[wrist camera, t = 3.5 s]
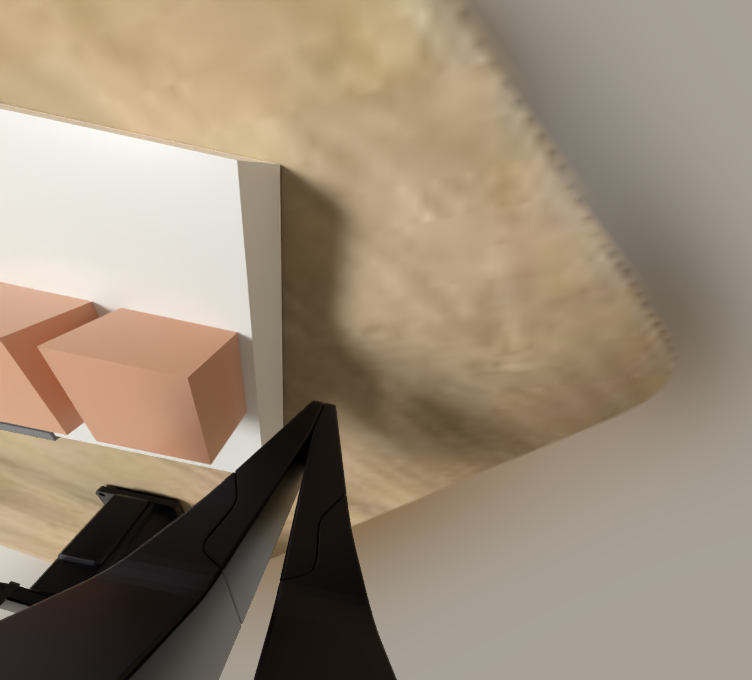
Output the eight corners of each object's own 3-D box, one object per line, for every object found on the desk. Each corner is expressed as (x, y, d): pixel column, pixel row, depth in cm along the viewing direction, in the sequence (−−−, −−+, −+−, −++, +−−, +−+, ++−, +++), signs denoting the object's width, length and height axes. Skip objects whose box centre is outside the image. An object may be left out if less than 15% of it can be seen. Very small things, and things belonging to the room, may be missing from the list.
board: (283, 438, 16) (264, 478, 14) (103, 401, 16) (55, 435, 14) (280, 164, 8) (237, 160, 6) (-64, 89, 8) (-225, 59, 6)
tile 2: (129, 387, 11) (67, 435, 9) (35, 368, 11) (-49, 411, 9) (92, 301, 9) (-2, 338, 7) (-26, 276, 9) (-155, 306, 7)
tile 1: (247, 412, 11) (211, 464, 9) (153, 392, 11) (96, 441, 9) (237, 332, 9) (187, 378, 7) (121, 307, 9) (37, 346, 7)
